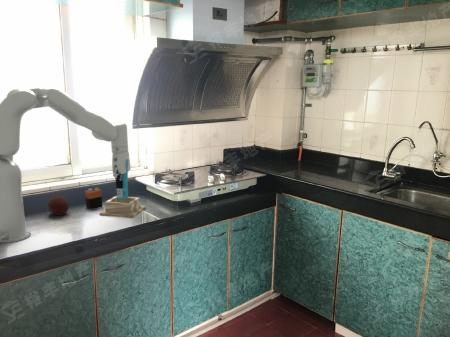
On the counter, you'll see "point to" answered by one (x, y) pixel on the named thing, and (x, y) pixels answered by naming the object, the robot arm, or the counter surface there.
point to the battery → (93, 198)
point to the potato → (58, 205)
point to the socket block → (122, 207)
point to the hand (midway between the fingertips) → (122, 186)
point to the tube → (124, 191)
